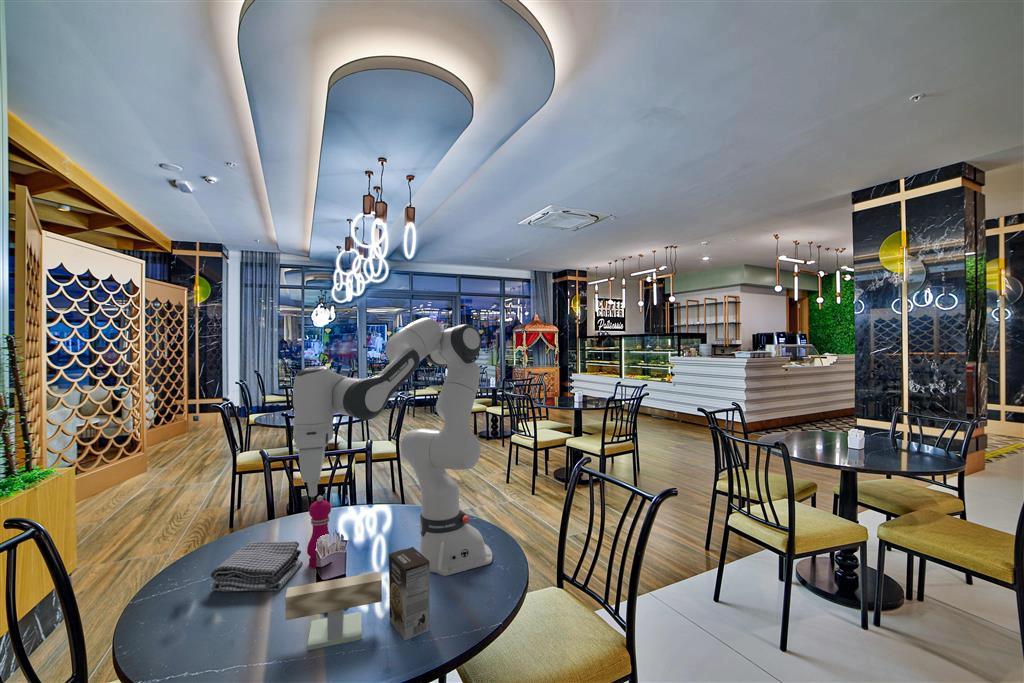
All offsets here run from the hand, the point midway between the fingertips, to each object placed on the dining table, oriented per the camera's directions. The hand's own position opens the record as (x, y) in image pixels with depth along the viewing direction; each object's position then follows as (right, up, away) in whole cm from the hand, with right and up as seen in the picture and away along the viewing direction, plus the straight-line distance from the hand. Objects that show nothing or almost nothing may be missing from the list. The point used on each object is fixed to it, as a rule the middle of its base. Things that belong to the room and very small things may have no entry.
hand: (314, 488), depth 112 cm
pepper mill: (-8, -30, +23) cm, 38 cm away
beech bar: (+8, -24, -9) cm, 27 cm away
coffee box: (+25, -30, -6) cm, 39 cm away
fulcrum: (+9, -30, -9) cm, 32 cm away
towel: (-22, -30, +15) cm, 40 cm away
